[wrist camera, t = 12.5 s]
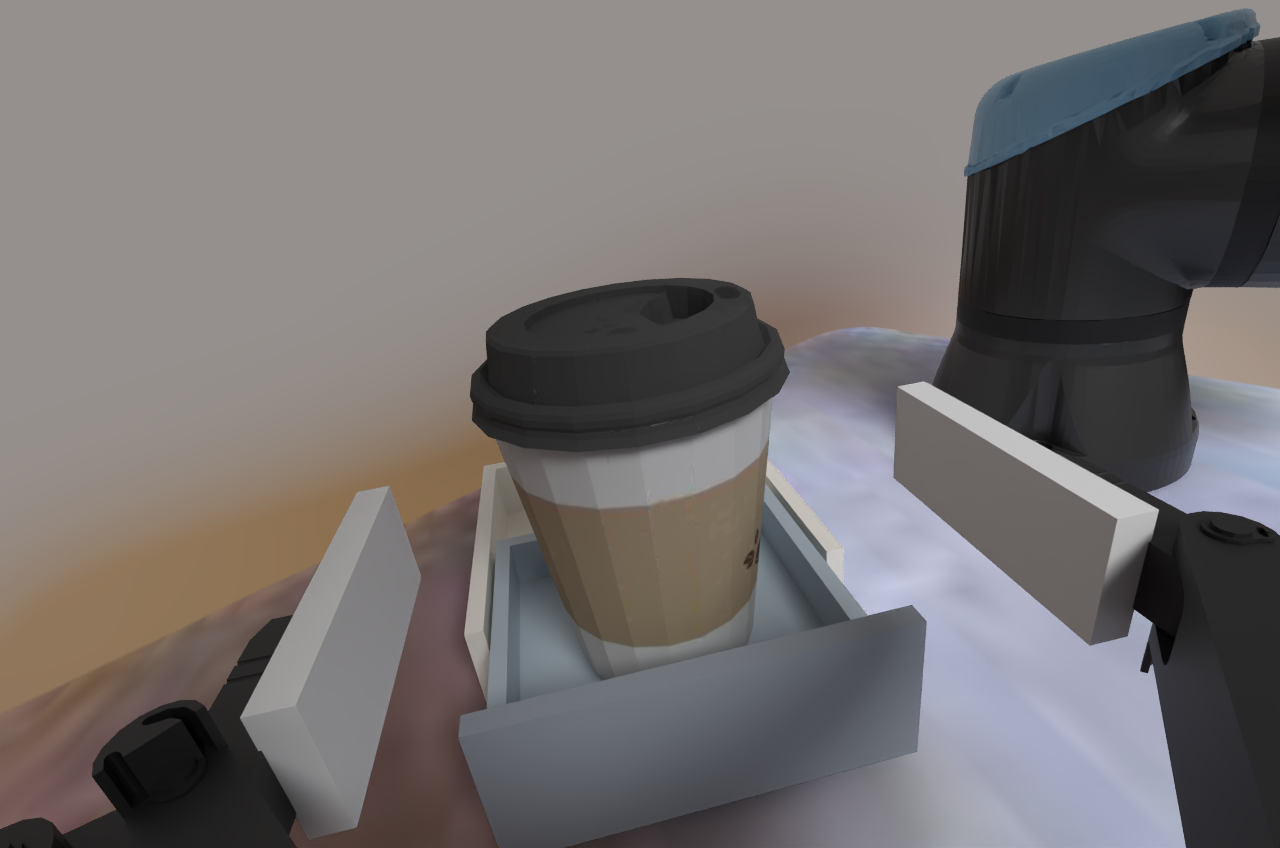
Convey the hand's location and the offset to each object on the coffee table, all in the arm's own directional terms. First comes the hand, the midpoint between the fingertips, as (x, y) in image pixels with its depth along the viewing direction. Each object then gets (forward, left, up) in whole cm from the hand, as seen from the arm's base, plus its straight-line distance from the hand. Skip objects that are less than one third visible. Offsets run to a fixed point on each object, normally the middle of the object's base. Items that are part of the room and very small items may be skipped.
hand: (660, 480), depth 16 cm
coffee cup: (0, -7, -12) cm, 14 cm away
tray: (0, -8, -14) cm, 16 cm away
